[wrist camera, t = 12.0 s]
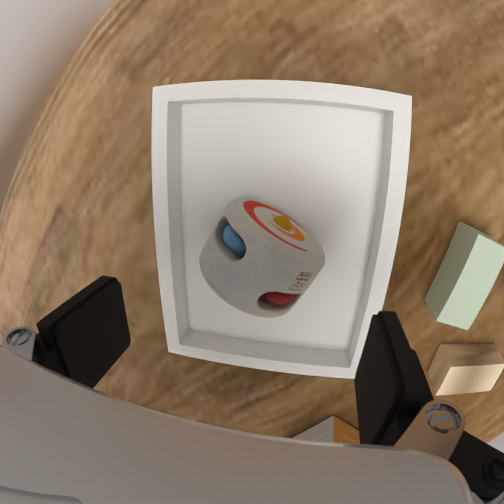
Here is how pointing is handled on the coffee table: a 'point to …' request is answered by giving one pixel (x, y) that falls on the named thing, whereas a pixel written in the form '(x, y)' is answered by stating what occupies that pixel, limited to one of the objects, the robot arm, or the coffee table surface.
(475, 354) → the maple block
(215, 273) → the roller toy
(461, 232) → the sage block
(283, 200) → the tray
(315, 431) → the small box
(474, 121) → the coffee table surface
